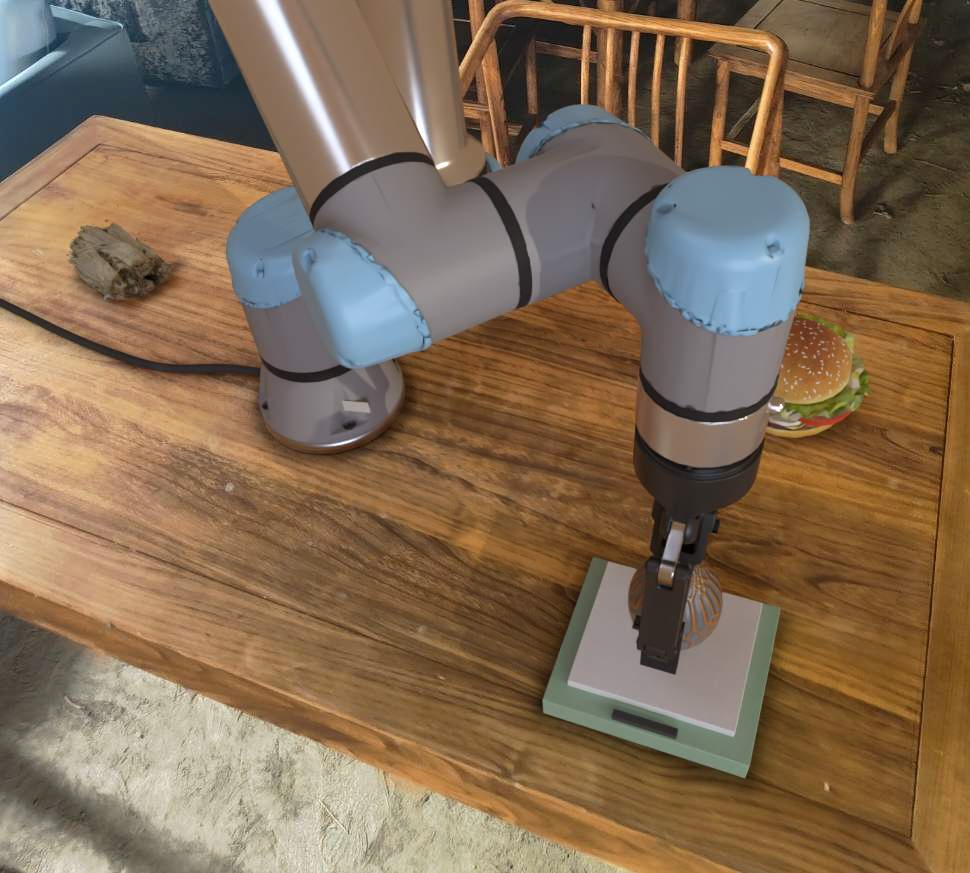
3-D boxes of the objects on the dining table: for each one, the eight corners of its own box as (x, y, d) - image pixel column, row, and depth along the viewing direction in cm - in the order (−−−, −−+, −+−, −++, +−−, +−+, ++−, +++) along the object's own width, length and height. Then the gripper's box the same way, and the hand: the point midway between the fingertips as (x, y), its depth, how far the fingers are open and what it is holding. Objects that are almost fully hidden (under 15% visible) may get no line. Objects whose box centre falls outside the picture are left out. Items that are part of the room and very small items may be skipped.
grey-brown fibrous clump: (190, 278, 114) (176, 243, 110) (123, 320, 110) (106, 284, 106) (126, 234, 121) (110, 199, 117) (61, 271, 117) (43, 237, 113)
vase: (715, 671, 69) (728, 610, 62) (621, 657, 70) (625, 596, 64) (718, 591, 73) (732, 527, 67) (631, 580, 75) (635, 516, 68)
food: (854, 463, 88) (874, 407, 82) (705, 431, 92) (715, 375, 86) (868, 365, 96) (888, 307, 90) (731, 339, 100) (741, 282, 94)
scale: (542, 713, 74) (541, 695, 72) (592, 571, 82) (593, 550, 80) (745, 778, 70) (751, 761, 67) (776, 621, 78) (783, 601, 75)
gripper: (731, 579, 47) (690, 757, 65) (792, 326, 59) (744, 533, 76) (589, 542, 49) (586, 723, 67) (675, 305, 61) (654, 511, 79)
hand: (670, 622), depth 72 cm, fingers closed on vase, 7 cm apart
